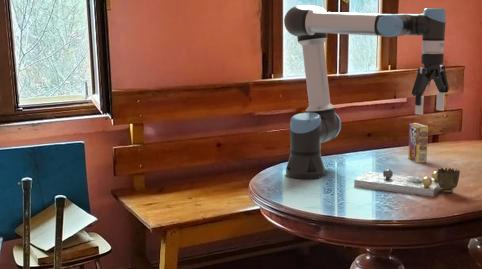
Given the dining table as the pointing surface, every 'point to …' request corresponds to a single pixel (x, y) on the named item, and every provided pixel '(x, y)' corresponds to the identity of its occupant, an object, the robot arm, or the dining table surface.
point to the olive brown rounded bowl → (448, 179)
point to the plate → (397, 184)
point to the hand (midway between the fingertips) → (429, 112)
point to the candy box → (418, 142)
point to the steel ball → (387, 174)
